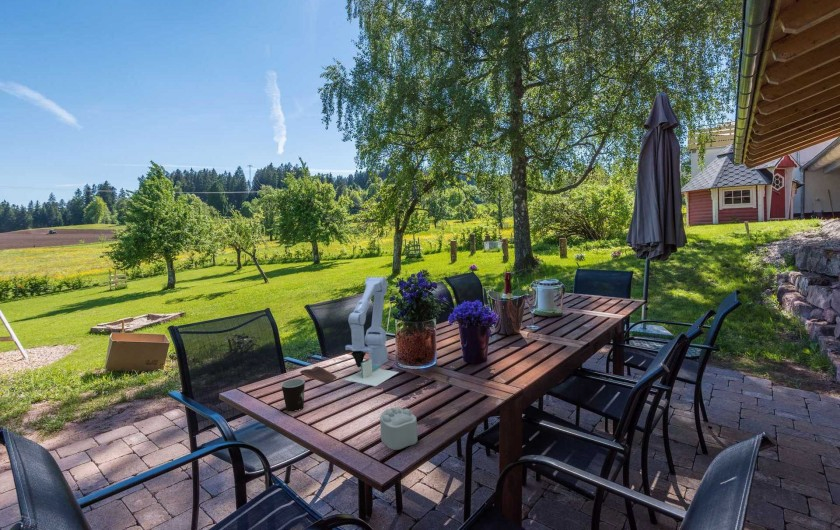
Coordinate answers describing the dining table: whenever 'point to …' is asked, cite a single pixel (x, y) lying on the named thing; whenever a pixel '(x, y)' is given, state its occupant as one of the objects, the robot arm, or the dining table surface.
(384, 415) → the lumpy-topped squat cylinder
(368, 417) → the dining table surface
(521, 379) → the dining table surface
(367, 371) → the tile
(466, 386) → the dining table surface
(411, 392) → the dining table surface
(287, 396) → the coffee mug
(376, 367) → the flat tile
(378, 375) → the felt mat
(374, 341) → the robot arm
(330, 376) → the wooden tablet
